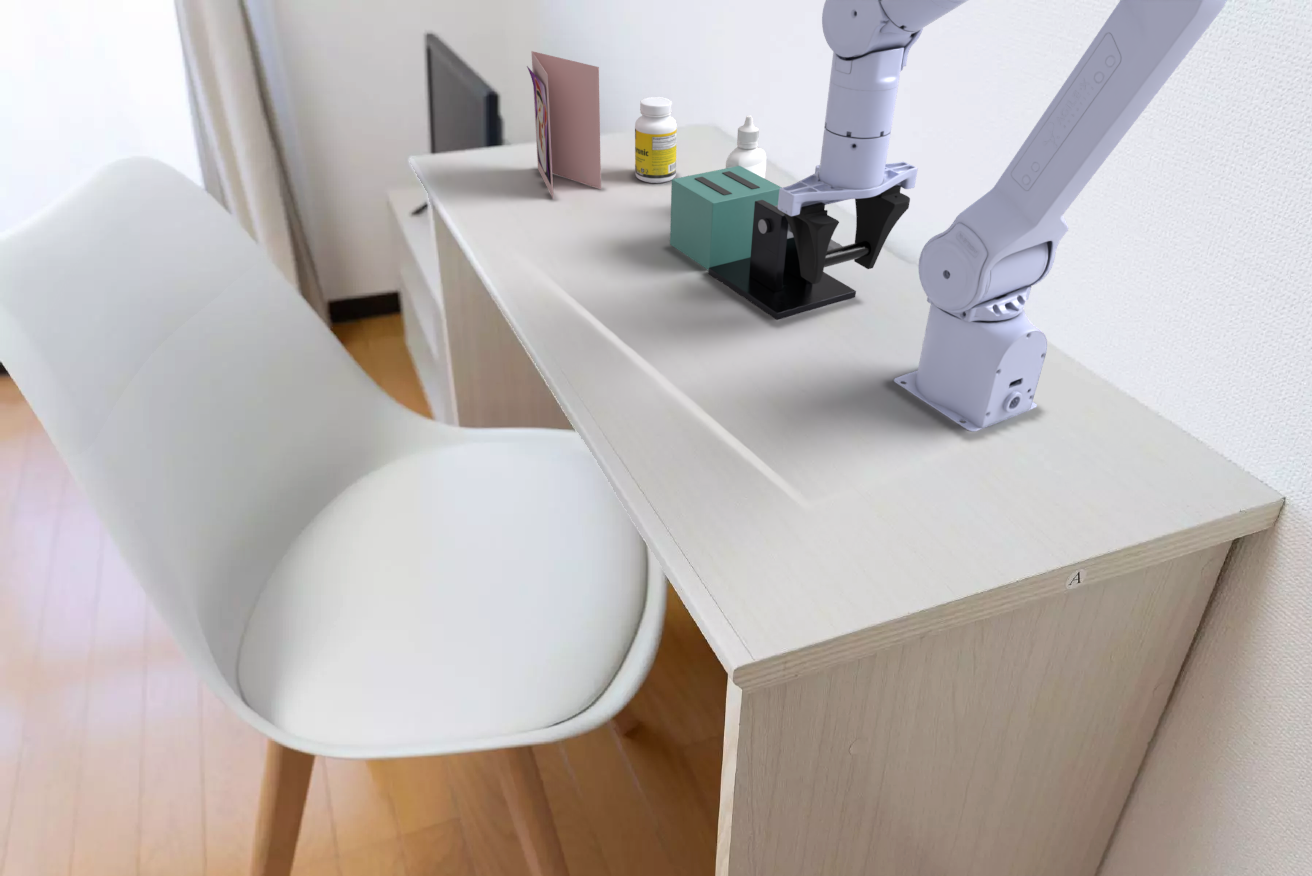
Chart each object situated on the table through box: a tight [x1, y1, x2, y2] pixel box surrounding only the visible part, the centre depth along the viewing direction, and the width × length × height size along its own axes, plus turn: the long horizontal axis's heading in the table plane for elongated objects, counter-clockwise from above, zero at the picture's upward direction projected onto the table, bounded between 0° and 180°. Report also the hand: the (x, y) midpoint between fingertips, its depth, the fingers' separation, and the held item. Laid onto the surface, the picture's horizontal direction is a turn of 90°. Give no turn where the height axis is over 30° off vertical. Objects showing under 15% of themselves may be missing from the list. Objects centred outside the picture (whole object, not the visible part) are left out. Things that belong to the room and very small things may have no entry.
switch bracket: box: [707, 200, 857, 321], centre depth 98 cm, size 12×10×9 cm
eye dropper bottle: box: [724, 115, 767, 179], centre depth 113 cm, size 4×6×12 cm
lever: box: [775, 205, 871, 268], centre depth 93 cm, size 11×6×2 cm, turn 31°
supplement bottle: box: [634, 96, 678, 184], centre depth 125 cm, size 5×5×10 cm
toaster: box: [669, 166, 783, 271], centre depth 105 cm, size 8×9×8 cm
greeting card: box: [526, 50, 602, 199], centre depth 121 cm, size 11×7×15 cm, turn 15°
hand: (837, 271), depth 92 cm, fingers closed on lever, 6 cm apart
